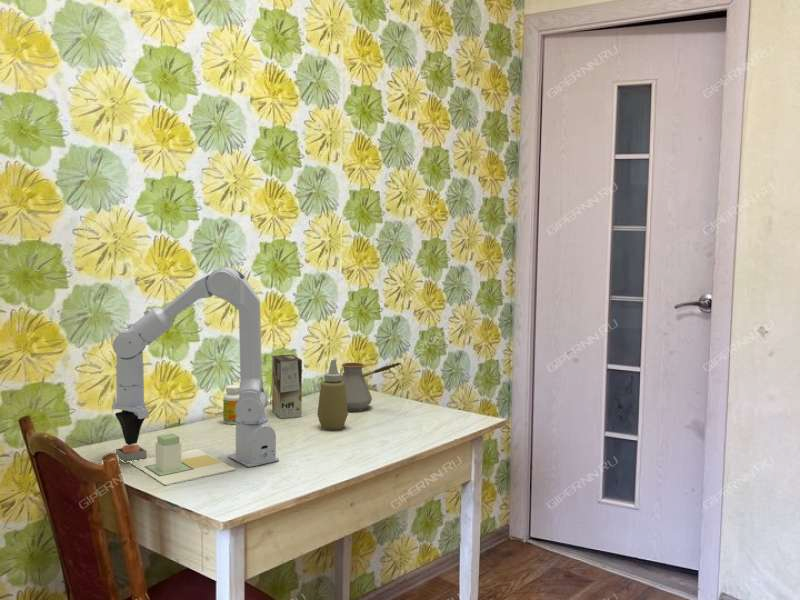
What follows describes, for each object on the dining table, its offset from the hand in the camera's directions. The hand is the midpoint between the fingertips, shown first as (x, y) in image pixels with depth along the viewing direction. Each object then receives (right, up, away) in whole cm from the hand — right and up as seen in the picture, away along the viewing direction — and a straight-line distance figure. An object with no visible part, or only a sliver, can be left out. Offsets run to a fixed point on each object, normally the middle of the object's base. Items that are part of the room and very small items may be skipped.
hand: (131, 443), depth 171 cm
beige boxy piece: (+10, -4, -6) cm, 13 cm away
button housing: (0, -4, 0) cm, 4 cm away
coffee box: (+29, 0, +43) cm, 51 cm away
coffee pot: (+51, 0, +49) cm, 71 cm away
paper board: (+13, -4, -4) cm, 14 cm away
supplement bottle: (+16, -1, +33) cm, 36 cm away
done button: (0, -3, 0) cm, 3 cm away
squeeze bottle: (+43, -2, +30) cm, 52 cm away
